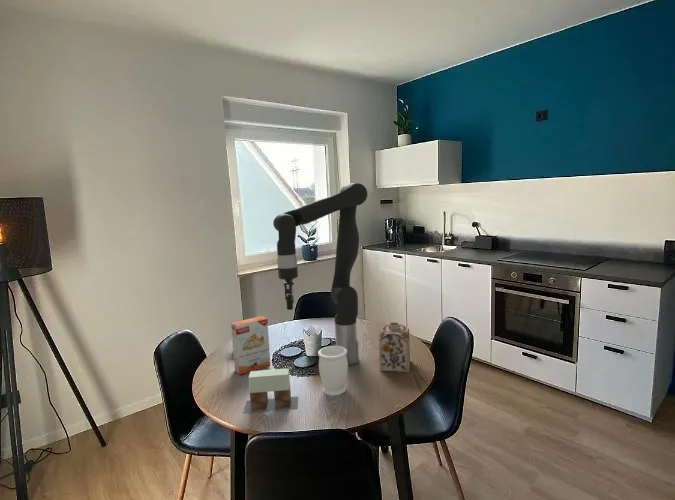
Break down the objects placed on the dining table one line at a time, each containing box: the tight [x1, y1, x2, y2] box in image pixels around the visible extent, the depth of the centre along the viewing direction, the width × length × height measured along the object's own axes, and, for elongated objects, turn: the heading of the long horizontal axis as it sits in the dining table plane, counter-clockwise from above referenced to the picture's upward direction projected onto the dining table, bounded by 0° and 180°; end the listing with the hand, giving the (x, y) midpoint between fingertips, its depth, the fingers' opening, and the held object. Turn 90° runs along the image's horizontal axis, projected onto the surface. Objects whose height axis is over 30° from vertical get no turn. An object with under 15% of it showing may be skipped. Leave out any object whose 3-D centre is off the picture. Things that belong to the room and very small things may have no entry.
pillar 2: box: [273, 385, 292, 408], centre depth 128 cm, size 5×5×6 cm
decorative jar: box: [378, 321, 411, 373], centre depth 153 cm, size 12×12×18 cm
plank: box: [248, 368, 291, 394], centre depth 127 cm, size 13×4×6 cm, turn 94°
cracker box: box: [230, 315, 271, 376], centre depth 157 cm, size 14×6×21 cm, turn 126°
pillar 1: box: [249, 392, 269, 410], centre depth 128 cm, size 5×5×6 cm
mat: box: [242, 396, 299, 414], centre depth 128 cm, size 18×8×1 cm, turn 94°
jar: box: [317, 345, 349, 396], centre depth 136 cm, size 11×10×15 cm
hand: (290, 306), depth 148 cm, fingers open, 8 cm apart
